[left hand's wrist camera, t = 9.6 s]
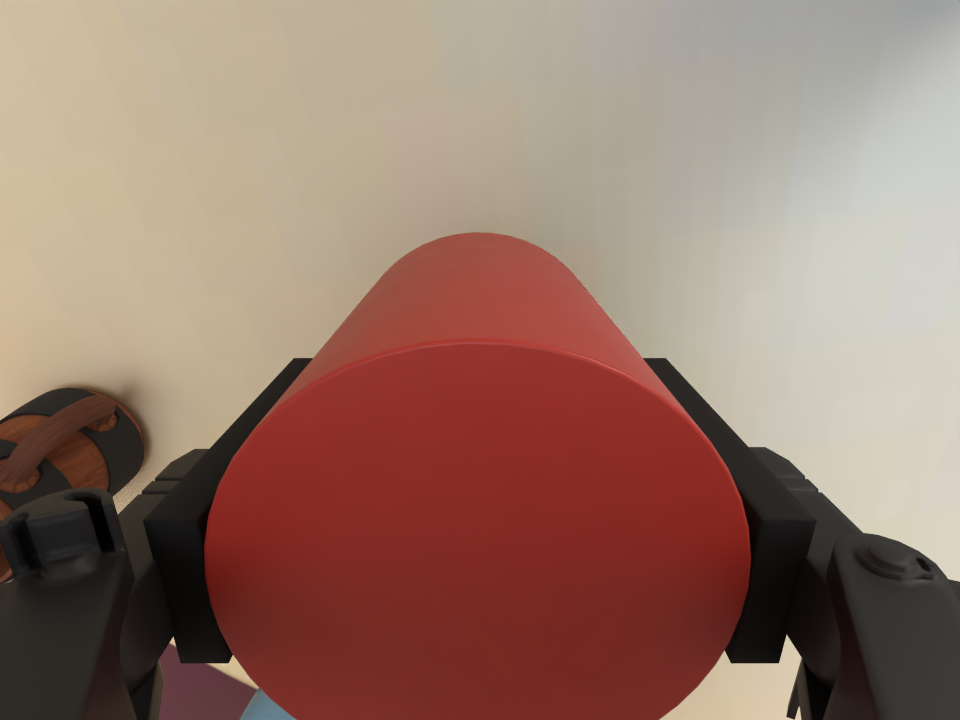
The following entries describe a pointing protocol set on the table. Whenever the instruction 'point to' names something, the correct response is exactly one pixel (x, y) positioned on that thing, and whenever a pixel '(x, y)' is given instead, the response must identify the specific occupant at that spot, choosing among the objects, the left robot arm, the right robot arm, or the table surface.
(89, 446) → the mug
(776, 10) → the table surface
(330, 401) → the canister
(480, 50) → the table surface
